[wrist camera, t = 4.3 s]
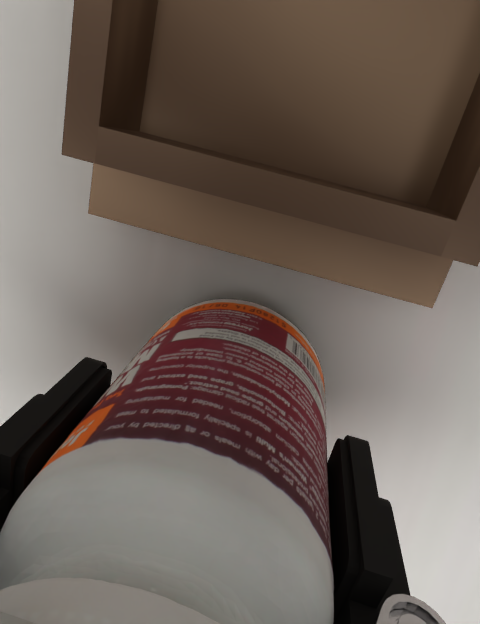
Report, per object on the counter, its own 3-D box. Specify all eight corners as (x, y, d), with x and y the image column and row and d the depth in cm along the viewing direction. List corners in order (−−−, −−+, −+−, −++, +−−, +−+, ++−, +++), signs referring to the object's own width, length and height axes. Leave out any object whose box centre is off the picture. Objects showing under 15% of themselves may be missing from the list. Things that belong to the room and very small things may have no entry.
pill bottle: (157, 277, 14) (-275, 634, 4) (345, 315, 14) (441, 859, 3) (143, 430, 17) (-149, 913, 6) (303, 468, 16) (282, 1074, 6)
